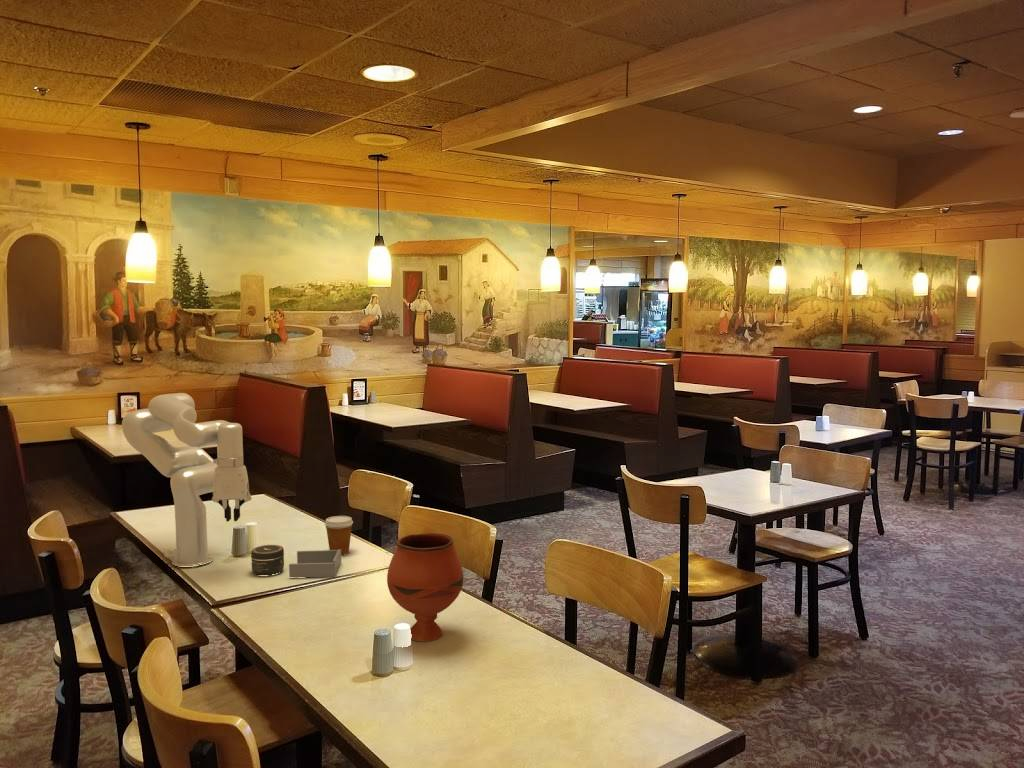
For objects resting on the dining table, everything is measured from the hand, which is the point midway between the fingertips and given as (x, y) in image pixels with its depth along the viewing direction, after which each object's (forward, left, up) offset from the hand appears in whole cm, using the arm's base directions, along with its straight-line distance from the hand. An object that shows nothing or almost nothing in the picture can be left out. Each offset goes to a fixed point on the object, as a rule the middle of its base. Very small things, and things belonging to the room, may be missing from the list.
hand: (232, 519), depth 249 cm
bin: (+26, 0, -17) cm, 31 cm away
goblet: (+62, -54, -17) cm, 83 cm away
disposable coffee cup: (+31, +18, -17) cm, 39 cm away
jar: (+11, 0, -17) cm, 20 cm away
